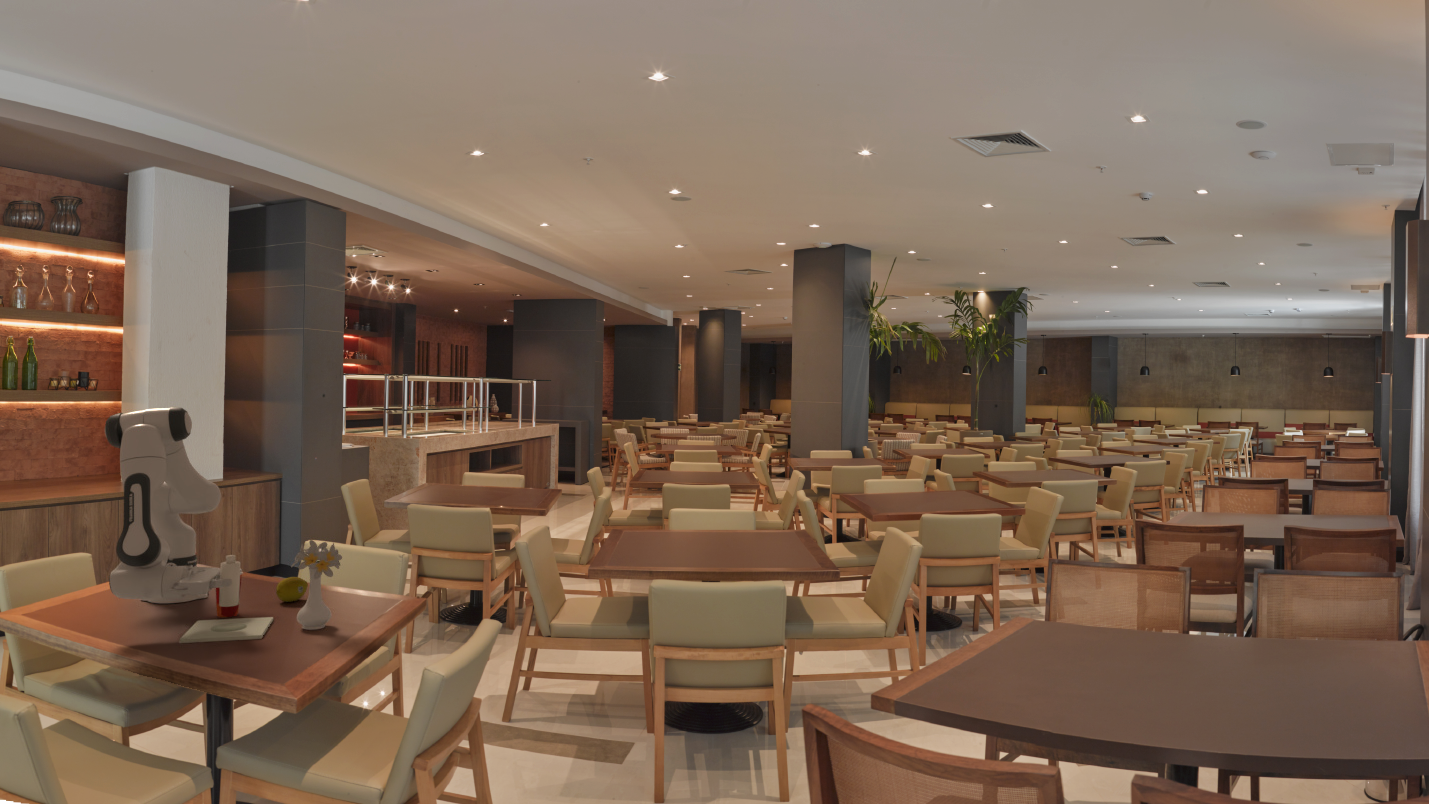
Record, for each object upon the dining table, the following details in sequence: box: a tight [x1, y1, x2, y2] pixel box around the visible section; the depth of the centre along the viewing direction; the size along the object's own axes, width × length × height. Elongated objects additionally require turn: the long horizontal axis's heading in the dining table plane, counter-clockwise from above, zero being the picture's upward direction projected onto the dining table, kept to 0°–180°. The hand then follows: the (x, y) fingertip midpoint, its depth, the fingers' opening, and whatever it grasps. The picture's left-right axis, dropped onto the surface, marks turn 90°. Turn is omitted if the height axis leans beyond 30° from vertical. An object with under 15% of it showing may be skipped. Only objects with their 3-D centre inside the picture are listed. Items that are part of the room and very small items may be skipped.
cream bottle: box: [219, 554, 241, 607], centre depth 245 cm, size 5×5×14 cm
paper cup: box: [215, 567, 244, 618], centre depth 262 cm, size 8×8×14 cm
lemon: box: [275, 576, 309, 603], centre depth 281 cm, size 11×8×8 cm
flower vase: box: [290, 539, 343, 631], centre depth 252 cm, size 13×18×25 cm
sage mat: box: [179, 616, 274, 644], centre depth 245 cm, size 20×20×1 cm
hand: (233, 580), depth 245 cm, fingers closed on cream bottle, 5 cm apart
